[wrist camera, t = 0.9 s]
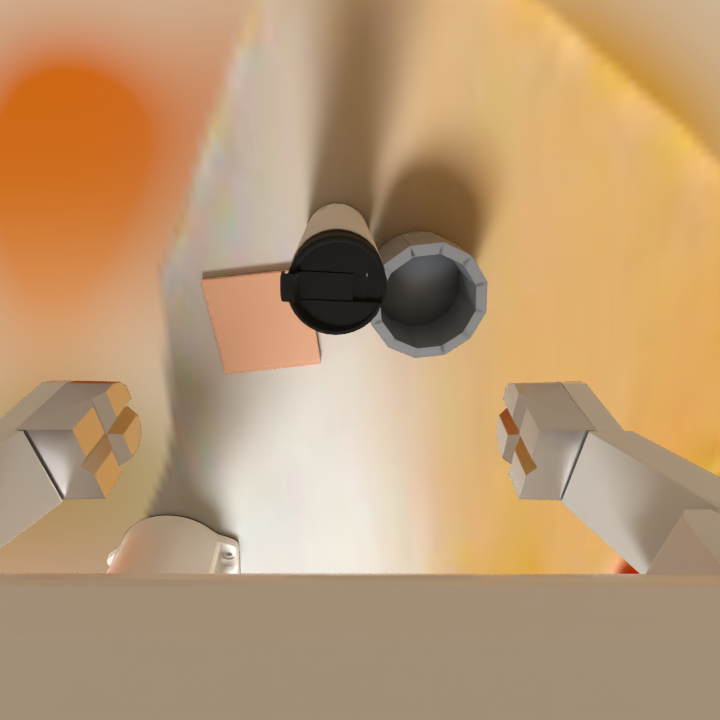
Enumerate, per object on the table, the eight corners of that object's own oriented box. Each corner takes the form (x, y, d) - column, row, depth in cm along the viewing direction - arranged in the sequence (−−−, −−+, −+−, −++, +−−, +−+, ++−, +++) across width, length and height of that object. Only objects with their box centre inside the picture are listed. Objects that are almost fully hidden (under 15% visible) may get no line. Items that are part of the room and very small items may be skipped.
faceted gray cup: (465, 324, 48) (484, 350, 41) (369, 335, 48) (374, 362, 41) (466, 225, 43) (489, 237, 36) (360, 237, 43) (364, 250, 36)
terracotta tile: (320, 360, 49) (320, 363, 48) (227, 370, 49) (225, 374, 48) (306, 267, 44) (305, 269, 43) (202, 278, 44) (200, 280, 43)
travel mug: (303, 199, 41) (278, 232, 23) (370, 204, 41) (396, 240, 23) (302, 263, 44) (279, 336, 26) (365, 267, 44) (385, 342, 26)
